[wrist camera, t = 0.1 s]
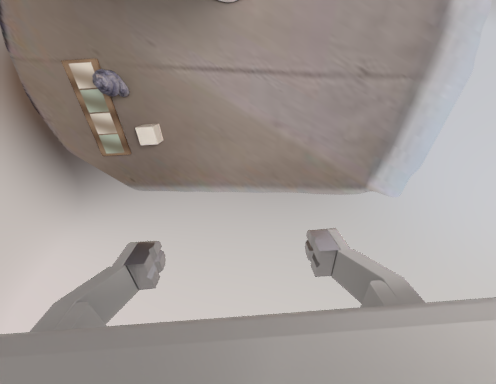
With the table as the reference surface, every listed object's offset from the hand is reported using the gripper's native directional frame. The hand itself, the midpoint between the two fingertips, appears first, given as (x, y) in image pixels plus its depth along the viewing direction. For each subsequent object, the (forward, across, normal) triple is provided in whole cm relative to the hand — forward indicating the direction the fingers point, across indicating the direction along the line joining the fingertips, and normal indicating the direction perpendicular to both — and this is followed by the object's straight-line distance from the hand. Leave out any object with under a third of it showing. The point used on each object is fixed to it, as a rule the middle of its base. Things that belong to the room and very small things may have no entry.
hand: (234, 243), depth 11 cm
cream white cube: (+48, +24, +2) cm, 54 cm away
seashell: (+48, +28, -10) cm, 57 cm away
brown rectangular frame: (+48, +36, -4) cm, 60 cm away
